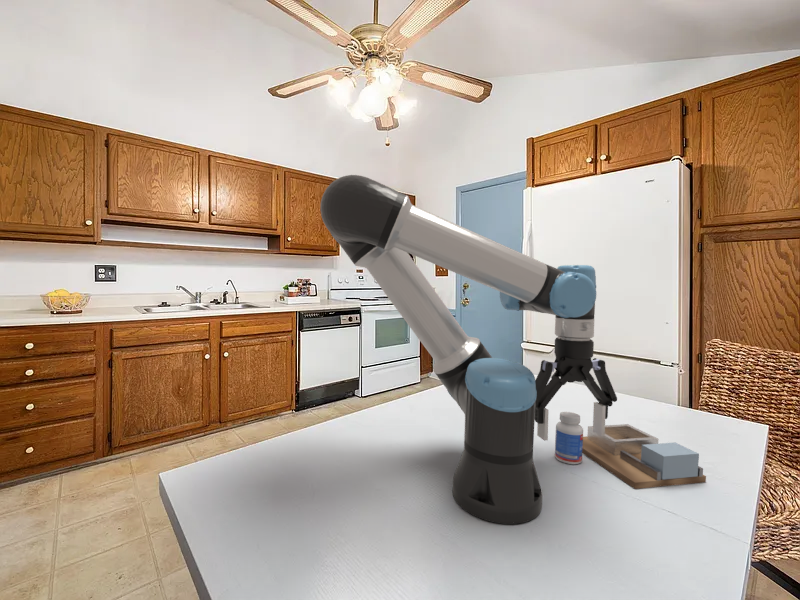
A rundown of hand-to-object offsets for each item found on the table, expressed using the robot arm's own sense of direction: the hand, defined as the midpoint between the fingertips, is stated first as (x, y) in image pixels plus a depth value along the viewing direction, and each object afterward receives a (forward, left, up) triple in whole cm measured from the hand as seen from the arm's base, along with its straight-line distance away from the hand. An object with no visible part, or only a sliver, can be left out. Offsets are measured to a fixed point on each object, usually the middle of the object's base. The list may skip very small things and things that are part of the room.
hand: (570, 435), depth 80 cm
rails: (+15, -8, -4) cm, 17 cm away
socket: (+15, +2, -4) cm, 15 cm away
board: (+13, -2, -5) cm, 14 cm away
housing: (+15, -10, -4) cm, 18 cm away
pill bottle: (0, 0, -5) cm, 5 cm away
